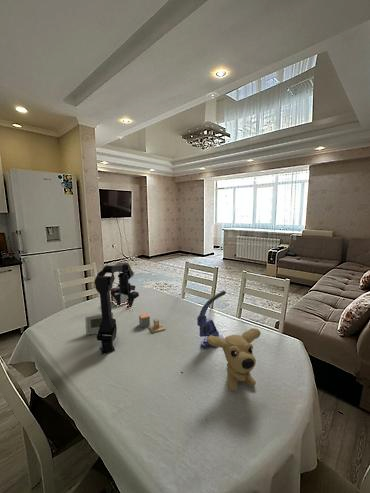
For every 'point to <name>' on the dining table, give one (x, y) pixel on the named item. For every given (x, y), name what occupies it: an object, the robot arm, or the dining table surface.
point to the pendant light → (123, 297)
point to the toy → (238, 356)
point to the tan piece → (156, 326)
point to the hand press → (208, 323)
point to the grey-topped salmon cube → (144, 320)
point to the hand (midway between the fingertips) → (125, 306)
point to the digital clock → (93, 323)
